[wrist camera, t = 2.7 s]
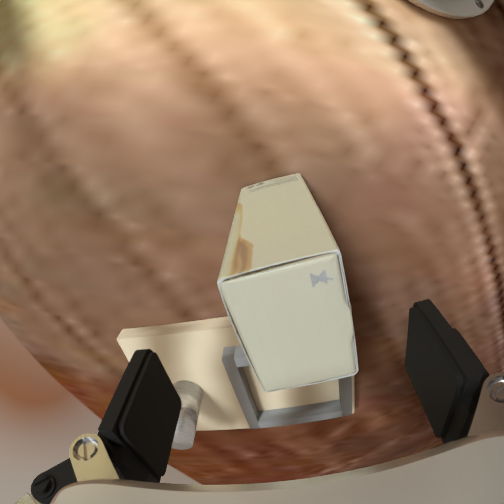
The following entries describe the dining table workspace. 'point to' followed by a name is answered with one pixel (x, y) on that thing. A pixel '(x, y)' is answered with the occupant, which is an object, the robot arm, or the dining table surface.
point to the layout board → (233, 378)
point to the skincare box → (287, 288)
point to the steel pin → (187, 413)
